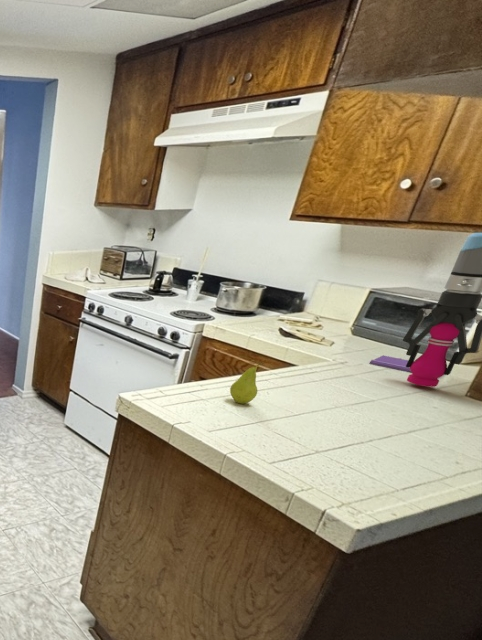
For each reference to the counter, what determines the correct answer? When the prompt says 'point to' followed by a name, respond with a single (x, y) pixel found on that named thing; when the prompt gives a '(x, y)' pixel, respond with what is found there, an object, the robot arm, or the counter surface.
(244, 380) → the fruit
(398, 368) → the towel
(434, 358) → the pepper mill
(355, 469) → the counter surface
